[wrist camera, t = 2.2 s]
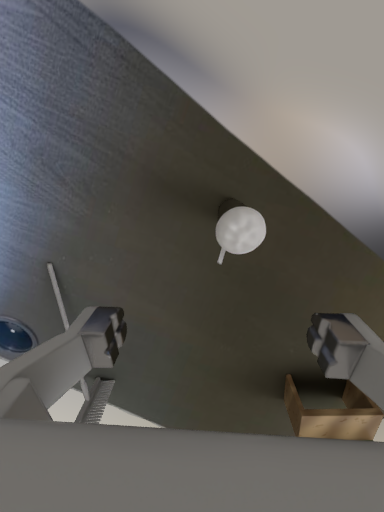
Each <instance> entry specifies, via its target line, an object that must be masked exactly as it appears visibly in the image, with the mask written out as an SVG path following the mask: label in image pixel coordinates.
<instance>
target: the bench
mask: <svg viewBox="0 0 384 512" xmlns="http://www.w3.org/2000/svg"><path fill="white" fill-rule="evenodd" d="M349 380H350V379H347V383H346V386H345V390H344V393H343V396H342V400H343V402H344V403H345V405H346V407H347V408H348V409H304V407H303V405H302V402H301V400H300V397H299V395H298V392H297V390H296V387H295V385H294V382H293V380H292V377H291V375H290V374H286V381H285V392H284V402H285V405H286V408H287V411H288V414H289V417H290V420H291V424H292V427H293V430H294V433H295V436H296V437H312V438H327V439H343V440H359V441H373V438H374V436H375V434H376V432H377V430H378V427H379V425H380V423H381V421H382V419H383V416H384V414H383V413H382V412H381V410H380V409H379V407H378V406H377V405H376V403H375V402H373V401H372V400H371V399H370V398H369V397H368V396H367V395H365V394H364V393H363V392H362V391H361V390H360V389H359V388H357V387H356V386H355V385H354V384H353V383H352V382H351V381H349Z"/></svg>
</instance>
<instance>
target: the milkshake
mask: <svg viewBox="0 0 384 512" xmlns="http://www.w3.org/2000/svg"><path fill="white" fill-rule="evenodd" d="M265 235H266V226H265V221H264V219H263V217H262V216H261V214H260V213H259V212H257V211H256V210H254V209H253V208H251V207H248V206H246V205H245V204H243V203H242V202H240V201H238V200H236V199H233V198H232V199H227V200H224V201H223V202H222V204H221V205H220V206H219V209H218V220H217V225H216V239H217V241H218V243H219V244H220V246H221V247H222V249H221V252H220V255H219V258H218V263H219V264H220V265H221V264H222V261H223V258H224V254H225V251H228V252H230V253H233V254H244V253H248V252H251V251H252V250H254V249H255V248H256V247H258V246H259V245H260V244H261V243H262V241H263V240H264V238H265Z"/></svg>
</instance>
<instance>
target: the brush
mask: <svg viewBox="0 0 384 512" xmlns="http://www.w3.org/2000/svg"><path fill="white" fill-rule="evenodd" d="M47 267H48V270H49V274H50V277H51V281H52V284H53V288H54V291H55V295H56V298H57V302H58V305H59V309H60V312H61V316H62V319H63V323H64V326H65V330H66V331H67V329H68V328H69V324H68V320H67V316H66V313H65V309H64V306H63V302H62V299H61V295H60V291H59V288H58V284H57V281H56V277H55V274H54V270H53V266H52V263H47ZM80 382H81V388H82V391H83V395H84V398H85V402H84V404H83V406H82V408H81V410H80V412H79V414H78V416H77V418H76V420H75V422H74V423H89V424H99V422H97V421H100V419H97V418H101V417H102V416H98V415H103V413H98V412H104V410H101V409H105V407H103V406H106V403H107V401H108V399H106V398H109V396H110V394H108V393H111V391H112V388H113V387H110V386H113V384H114V382H115V380H109V381H101V380H100V377H96V379H95V381H94V383H93V385H92V387H91V389H90V391H88V388H87V384H86V381H84V377H82V378H81V379H80ZM109 384H111V385H109ZM104 389H105V390H104ZM106 391H108V392H106ZM100 394H101V395H100ZM103 396H106V397H103ZM98 399H100V400H98ZM102 401H105V402H102ZM94 402H95V403H94ZM98 404H102V405H98ZM96 407H99V408H96ZM93 410H96V411H93ZM91 413H93V414H91ZM90 416H93V417H90ZM89 419H92V420H89ZM90 422H93V423H90Z"/></svg>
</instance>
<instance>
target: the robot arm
mask: <svg viewBox="0 0 384 512" xmlns="http://www.w3.org/2000/svg"><path fill="white" fill-rule="evenodd" d="M123 316H124V311H123V309H122V308H120V307H101V306H99V307H97V306H88V307H86V308H85V309H84V310H83V311H82V312H81V313H80V315H79V316H78V317H77V318H76V320H75V321H74V322H73V323H72V324H71V326H70V327H69V328H68V329H67V331H66V332H65V333H64V334H59V335H57V336H55V337H53V338H52V339H50V340H48V341H46V342H44V343H43V344H41V345H39V346H37V347H36V348H34V349H32V350H30V351H28V352H27V353H25V354H23V355H21V356H19V357H18V358H16V359H14V360H12V361H11V362H9V363H7V364H5V365H3V366H2V367H0V512H384V442H374V441H359V440H343V439H327V438H312V437H296V436H280V435H264V434H249V433H233V432H217V431H200V430H184V429H168V428H152V427H136V426H120V425H104V424H89V423H72V422H57V421H53V420H52V418H51V416H50V414H49V412H48V411H47V409H48V408H50V406H52V405H53V404H54V403H55V402H56V401H57V400H58V399H59V398H61V397H62V396H63V395H64V394H65V393H66V392H67V391H68V390H69V389H70V388H71V387H73V386H74V385H75V384H76V383H77V382H78V381H79V380H80V379H81V378H82V377H84V376H85V375H86V374H87V373H88V372H89V371H90V370H91V369H92V367H95V368H113V366H114V364H115V361H116V359H117V357H118V355H119V351H118V348H119V347H121V346H122V345H123V343H124V341H125V338H126V333H127V326H126V322H125V321H124V320H123V319H122V318H123ZM311 322H312V323H313V325H312V326H311V327H309V328H308V331H307V343H308V346H309V348H310V350H311V352H312V353H314V354H315V355H316V356H318V360H317V363H318V364H319V366H320V368H321V370H322V372H323V373H324V375H325V377H326V378H338V379H350V380H349V381H351V382H352V383H353V384H354V385H355V386H356V387H357V388H359V389H360V390H361V391H362V392H363V393H364V394H365V395H367V396H368V397H369V398H370V399H371V400H372V401H373V402H375V403H376V404H377V405H378V406H379V407H380V408H381V409H383V410H384V342H383V341H382V340H381V339H380V338H379V337H378V336H377V335H376V334H375V333H374V332H373V331H372V330H371V329H370V328H369V327H368V326H367V325H366V324H365V323H364V322H363V321H362V320H361V319H360V318H359V317H358V316H357V315H356V314H354V313H340V314H338V313H314V314H313V315H312V318H311Z"/></svg>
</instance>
